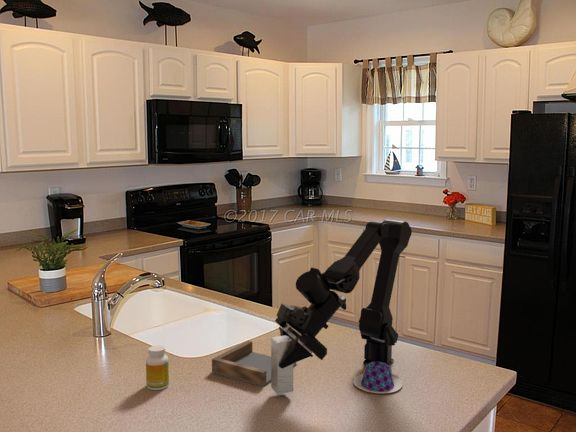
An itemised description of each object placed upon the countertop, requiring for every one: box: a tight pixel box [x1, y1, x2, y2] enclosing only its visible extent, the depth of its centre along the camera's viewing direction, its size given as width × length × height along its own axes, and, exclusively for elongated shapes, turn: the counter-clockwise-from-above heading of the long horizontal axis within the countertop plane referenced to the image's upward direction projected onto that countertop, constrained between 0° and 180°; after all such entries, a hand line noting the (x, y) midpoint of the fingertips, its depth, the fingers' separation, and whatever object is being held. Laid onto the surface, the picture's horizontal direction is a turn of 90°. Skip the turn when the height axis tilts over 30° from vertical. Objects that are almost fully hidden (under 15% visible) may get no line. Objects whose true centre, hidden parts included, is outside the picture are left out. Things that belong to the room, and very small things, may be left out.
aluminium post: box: [270, 335, 294, 395], centre depth 133 cm, size 4×4×12 cm
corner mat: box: [211, 351, 297, 388], centre depth 150 cm, size 16×16×1 cm
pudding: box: [352, 362, 403, 394], centre depth 141 cm, size 12×12×5 cm
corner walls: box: [211, 340, 266, 384], centre depth 150 cm, size 16×16×3 cm
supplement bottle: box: [145, 345, 170, 391], centre depth 139 cm, size 5×5×10 cm
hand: (276, 363), depth 133 cm, fingers closed on aluminium post, 4 cm apart
